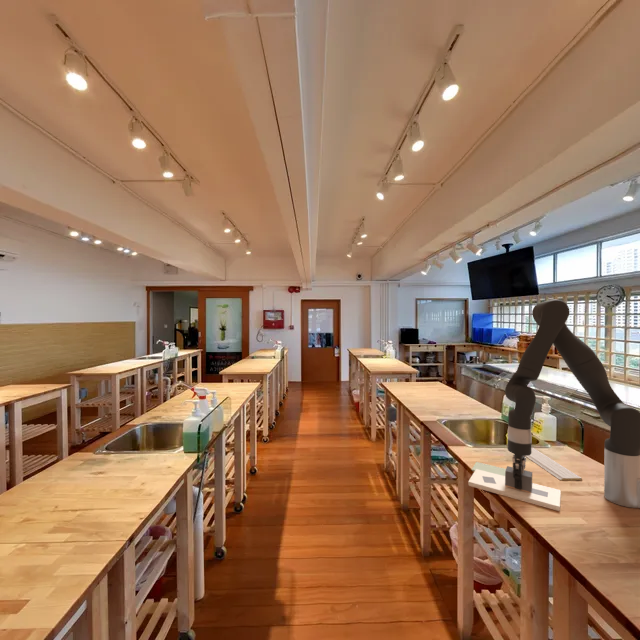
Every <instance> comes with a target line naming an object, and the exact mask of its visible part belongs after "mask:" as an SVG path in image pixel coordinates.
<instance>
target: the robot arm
mask: <svg viewBox="0 0 640 640" xmlns="http://www.w3.org/2000/svg"><path fill="white" fill-rule="evenodd" d="M531 311H532V313H531V314H532V318H533V320H534V323H536V324H537V325H538V329H537V331H536V333H535V335H534V337H533V339H532V340H531V341H530V343H529V344H528V346H527V347H526V349H525V350H524V352H523V354H522V355H521V358H520V360H519V364H518V366H517V369H516V371H515V372H514V373H513V375H512V376H511V377H510V379H509V381H508V382H507V383H506V386H505V389H504V394H505V395H504V396H506V398H507V399H508V400H509V401H511V402H513V403H514V404H515V405H514V408H513V409H512V408H511V409H510V410H509V411H508V420H507V421H508V423H507V424H508V425H507V427H508V428H507V451H509V453H511V454H513V456H512V458H511V459H512V467H513V478H515V488H516V489H519V490H521V489H522V479H523V477H522V473H524V470H525V469H526V462H527V457H526V456H528V455H531V453H532V448H533V445H532V443H533V441H532V439H533V438H532V415H533V413H534V409H535V405H536V399H537V398H536V393H535V391H534V389H533V388H531V387H530V386H528V385H529V384H530V383H531V382H534V381H537V380H538V379H539V377H540V374H541V372H542V369H543V366H544V364H545V361H546V359H547V357H548V354H549V353H550V350H551V348H552V346H553V345H554V347H555V348H556V351H557V352H558V353H559V355H560V356H561V359H563V361H564V362H565V364H566V366H567V367H568V369H569V371H570V373H572V375H573V377H575V378H576V380H577V381H578V383H579V384H580V385H581V386H582V389H584V391H585V392H586V393H587V394H588V396H589V398H590V399H591V401H592V402H593V404H594V406H595V409H596V410H597V412H598V414H599V416H600V418H601V419H602V421H603V422H604V423H605V424H606V425H607V426H608V427H610V431H609V438H605V440H604V455H603V456H604V457H603V458H604V464H603V465H604V468H603V469H604V472H603V474H604V476H603V477H604V478H603V479H604V481H603V482H604V483H603V484H604V485H603V486H604V487H603V493H604V494H603V495H604V498H605V499H606V500H608V501H609V502H611V503H614V504H616V505H618V506H622V507H626V508H631V509H632V508H634V509H636V508H638V509H640V411H639V410H638V409H636V408H634V407H631V406H630V405H627V404H625V403H624V402H623V400H622V399H620V397H619V396H618V395H617V393H616V392H615V391H614V389H613V388H612V386H611V384H610V381H609V377H608V373H607V371H606V368H605V366H604V365H603V363H602V362H601V361H602V360H600V358H599V357H598V356H597V354H596V353H595V351H594V350H593V349H592V348H591V347H590V346H589V345H587V344H586V343H585V341H583V340H582V339H580V338H579V337H578V336H576V335H575V334H574V333H573V332H572V331H571V330H570V328H569V327H568V326H567V324H566V322H567V321H568V318H569V316H570V313H571V312H570V308H569V305H568V304H567V303H566V302H565V301H564V300H561V299H560V300H559V299H548V300H545V301H542V302H539V303H537V304H535V305H534V307H533V309H532V310H531ZM516 473H518V474H520V476H519V475H516Z"/></svg>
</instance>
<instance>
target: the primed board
mask: <svg viewBox="0 0 640 640" xmlns="http://www.w3.org/2000/svg"><path fill="white" fill-rule="evenodd" d="M467 483H468V484H467V485H468V486H469V487H472V488H476V489H480V490H483V491H487V492H489V493H493V494H497V495H502V496H504V497H507V498H511V499H515V500H518V501H523V502H525V503H529V504H533V505H536V506H540V507H542V508H543V507H544V508H546V509H550V510H554V511H556V512H557V511H558V512H561V498H562V497H561V495H562V494H561V492H562V491H561V489H558V488H554V487H549V486H547V485H546V486H545V485H541V484H538V483H534V482H532V490H531V493H529V492H525V491H522V490H518V489H515V488H511V487H507V486H505V476H502V475H498V474H494V473H490V472H486V471H482V470H478V469H476V470H475V471H473V473H472V475H471V477H470V478H469V480H468V482H467Z"/></svg>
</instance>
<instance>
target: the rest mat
mask: <svg viewBox="0 0 640 640" xmlns="http://www.w3.org/2000/svg"><path fill="white" fill-rule="evenodd" d="M476 469H478V470H482V471H486V472H490V473H494V474H498V475H502V476H505V471H506V468H504V467H499V466H496V465H491V464H488V463H487V464H486V463H483V462H479V461H476V462H475V464H473V466H472V467H471V471H472V472H475V470H476Z"/></svg>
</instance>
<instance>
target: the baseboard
mask: <svg viewBox="0 0 640 640" xmlns="http://www.w3.org/2000/svg"><path fill="white" fill-rule="evenodd" d="M525 457H526V459H528V458H529V460H530V461H531V462H532V463H534V464H536V465H537V466H538V467H541V469H543V470H545V471H546V472H548V473H549V474H550V475H551V476H553V477H554V478H556V479H558V480H559V481H583V478H582V477H581V476H579V475H577V474H576V473H574V472H573V471H572V470H570V469H568V468H566V467H565V466H563V465H561V464H560V463H559V462H557V461H555V460H554V459H552V458H550V457H549V456H547V455H546V454H544V453H542V452H541V451H539V450H538V449H536V448H534V447H532V453H531V455H528V456H525Z"/></svg>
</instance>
